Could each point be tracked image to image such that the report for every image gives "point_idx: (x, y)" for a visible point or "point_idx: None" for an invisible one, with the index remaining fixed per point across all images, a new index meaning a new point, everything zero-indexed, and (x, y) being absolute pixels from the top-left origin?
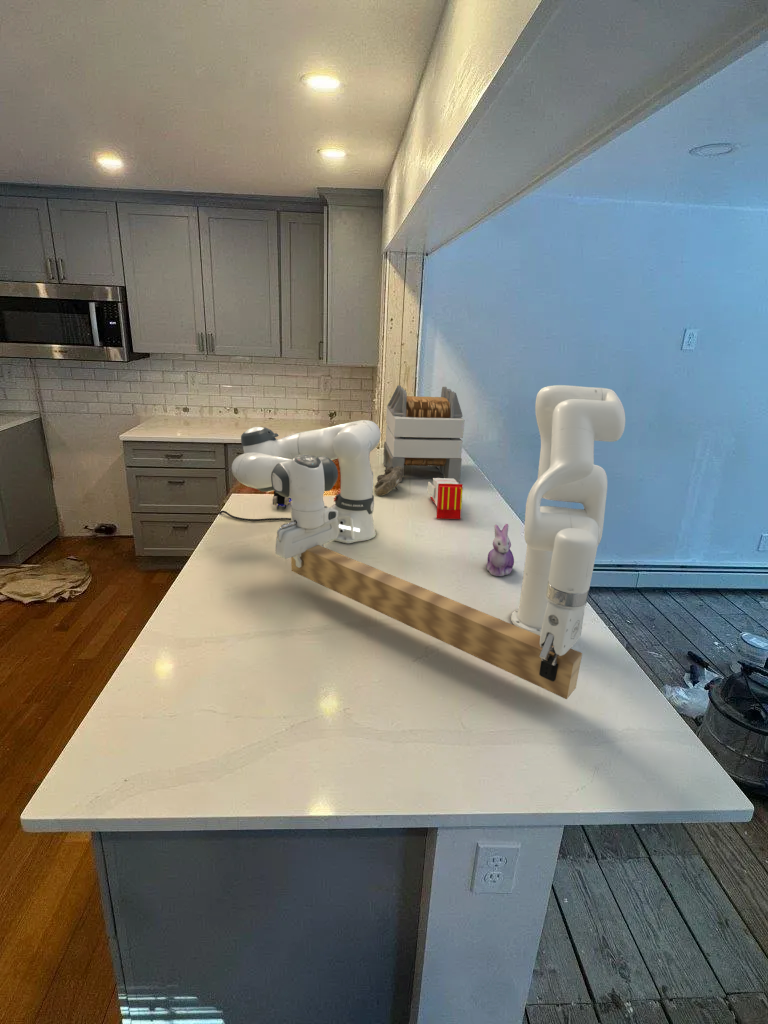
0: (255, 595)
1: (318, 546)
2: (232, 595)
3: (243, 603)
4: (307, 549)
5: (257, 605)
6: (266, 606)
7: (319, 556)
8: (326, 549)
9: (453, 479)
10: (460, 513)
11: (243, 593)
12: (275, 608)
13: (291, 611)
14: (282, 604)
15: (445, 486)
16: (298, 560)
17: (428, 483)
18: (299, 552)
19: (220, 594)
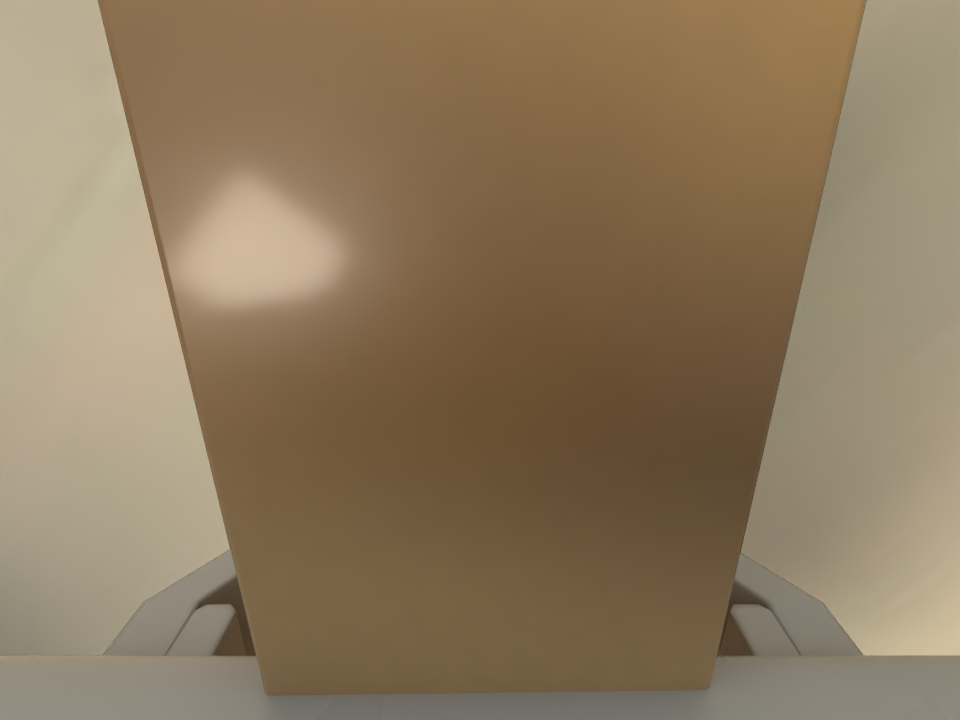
0: (794, 527)
1: (327, 637)
2: (870, 608)
3: (927, 502)
4: (669, 685)
5: (907, 426)
6: (889, 374)
7: (820, 144)
8: (262, 351)
9: None
10: None
11: (813, 587)
12: (882, 307)
13: (861, 177)
14: (801, 315)
15: None
16: (746, 560)
17: None
18: (945, 691)
19: (895, 653)
